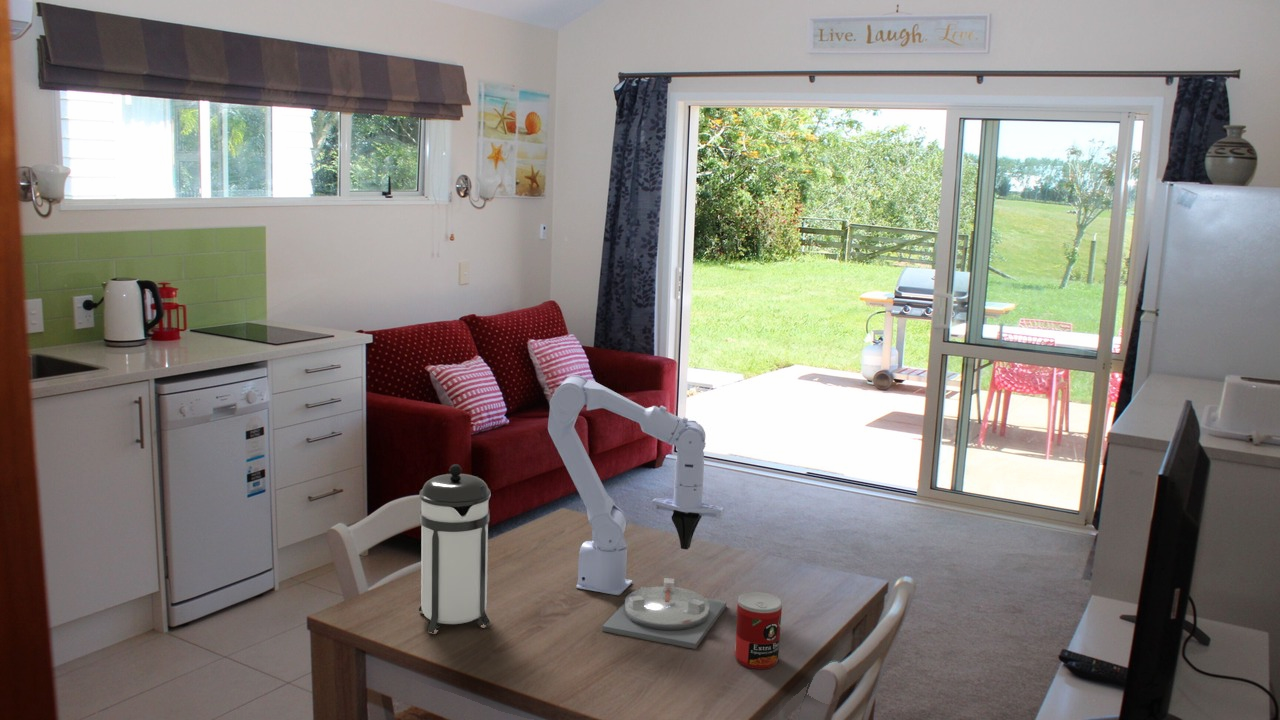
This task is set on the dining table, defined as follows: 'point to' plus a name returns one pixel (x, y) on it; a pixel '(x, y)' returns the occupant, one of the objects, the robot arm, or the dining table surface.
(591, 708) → the dining table surface
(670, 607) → the round dial
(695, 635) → the slate base plate
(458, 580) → the coffee press
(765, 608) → the canned food
